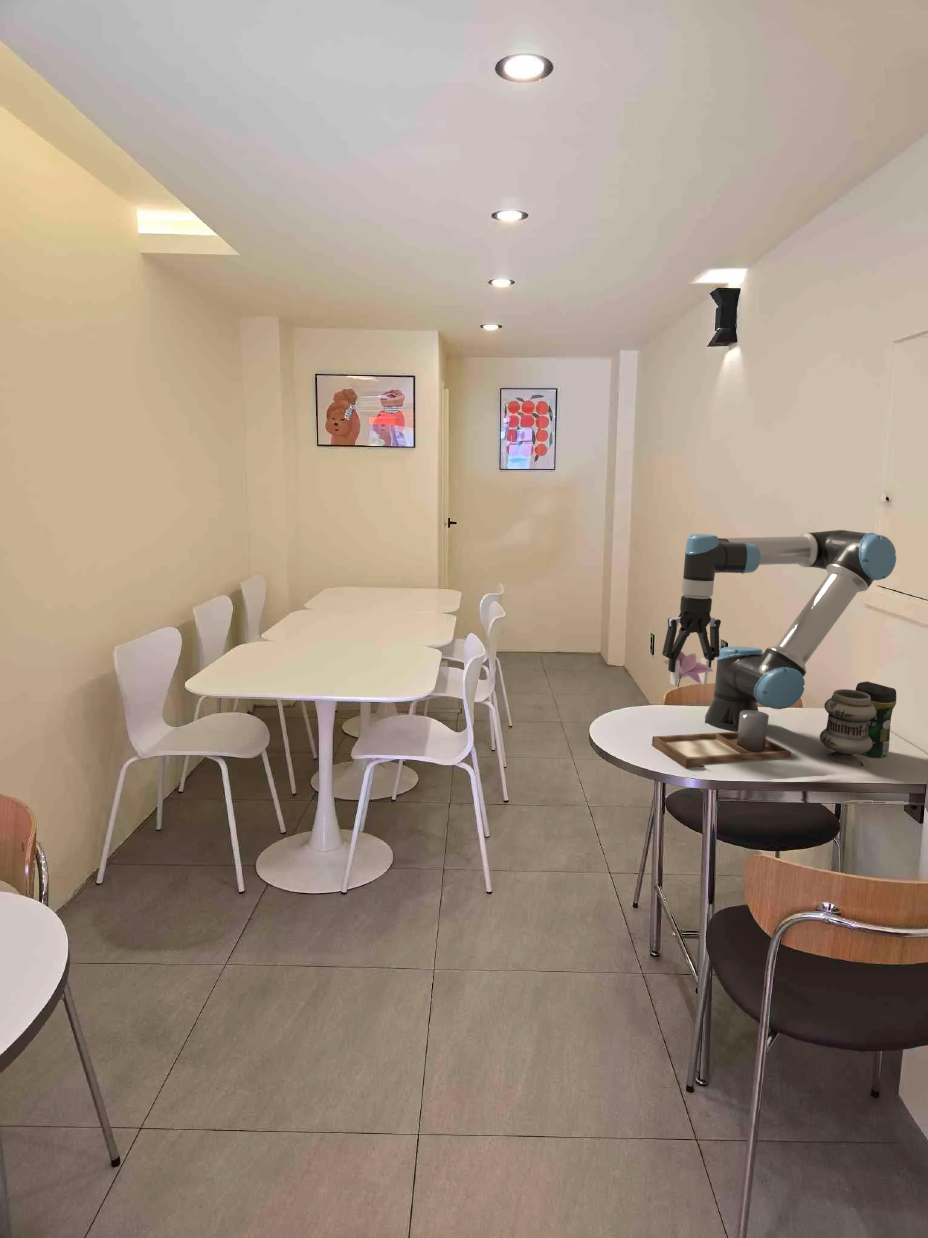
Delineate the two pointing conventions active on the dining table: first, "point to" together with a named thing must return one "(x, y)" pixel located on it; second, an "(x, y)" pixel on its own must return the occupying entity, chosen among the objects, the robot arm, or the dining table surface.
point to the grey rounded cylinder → (752, 730)
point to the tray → (712, 749)
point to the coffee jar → (879, 716)
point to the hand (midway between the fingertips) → (688, 683)
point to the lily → (690, 667)
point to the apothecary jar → (848, 725)
